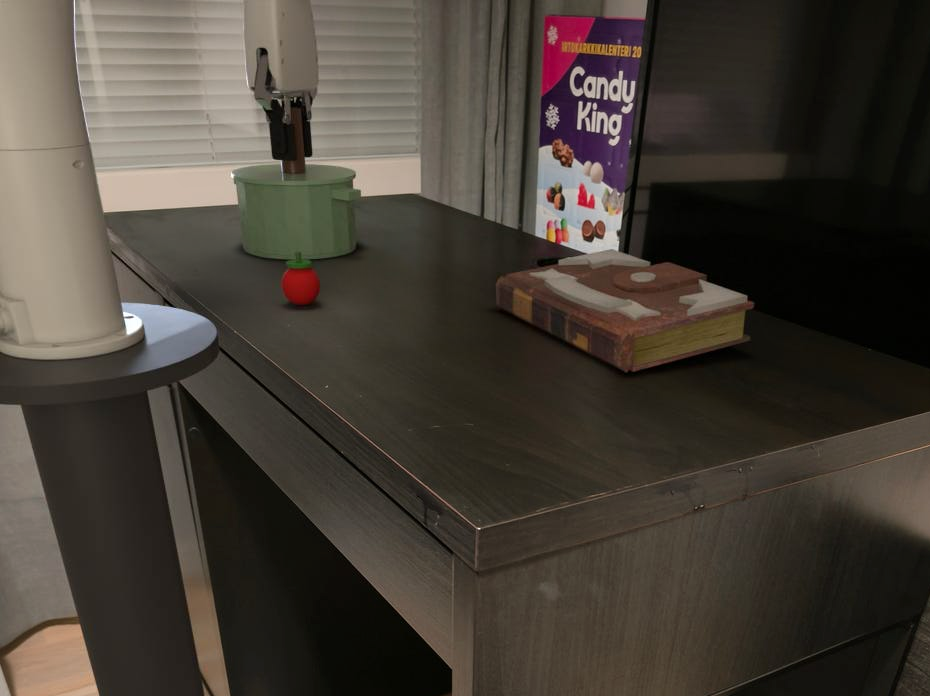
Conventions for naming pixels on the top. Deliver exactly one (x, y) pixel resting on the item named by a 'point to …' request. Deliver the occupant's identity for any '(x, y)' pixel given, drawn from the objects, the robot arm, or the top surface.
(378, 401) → the top surface
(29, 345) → the robot arm
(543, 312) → the book
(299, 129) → the lid
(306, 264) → the tomato
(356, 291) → the top surface
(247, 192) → the pot
